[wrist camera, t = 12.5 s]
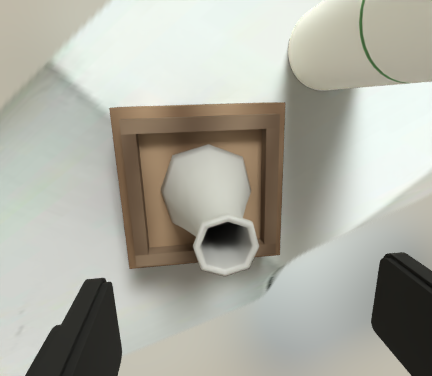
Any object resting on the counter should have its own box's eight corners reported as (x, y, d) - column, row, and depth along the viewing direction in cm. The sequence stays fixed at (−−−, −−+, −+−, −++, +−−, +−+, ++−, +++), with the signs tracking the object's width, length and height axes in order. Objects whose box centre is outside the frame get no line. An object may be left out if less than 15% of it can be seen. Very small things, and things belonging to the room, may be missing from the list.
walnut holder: (266, 102, 27) (291, 102, 21) (263, 231, 31) (284, 262, 25) (121, 107, 26) (105, 108, 20) (137, 241, 29) (127, 276, 23)
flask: (160, 142, 22) (148, 172, 13) (254, 145, 23) (308, 174, 14) (160, 231, 24) (150, 315, 15) (247, 230, 25) (290, 308, 16)
